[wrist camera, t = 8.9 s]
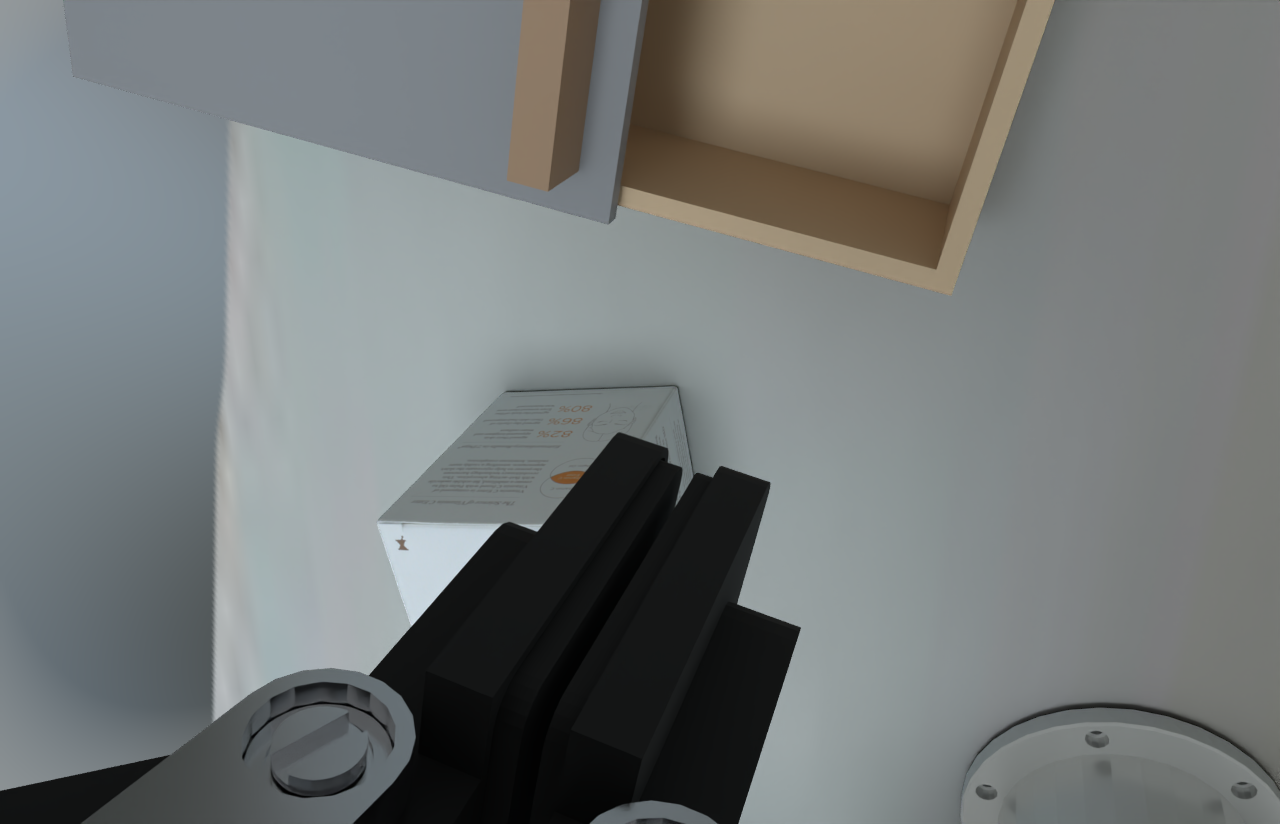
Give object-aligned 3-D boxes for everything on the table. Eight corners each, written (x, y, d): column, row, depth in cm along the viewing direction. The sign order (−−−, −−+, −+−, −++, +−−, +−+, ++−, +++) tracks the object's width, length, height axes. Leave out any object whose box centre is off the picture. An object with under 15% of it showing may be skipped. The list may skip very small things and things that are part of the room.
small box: (531, 500, 45) (412, 653, 36) (502, 387, 42) (367, 521, 34) (702, 503, 42) (619, 671, 33) (681, 382, 40) (585, 527, 31)
